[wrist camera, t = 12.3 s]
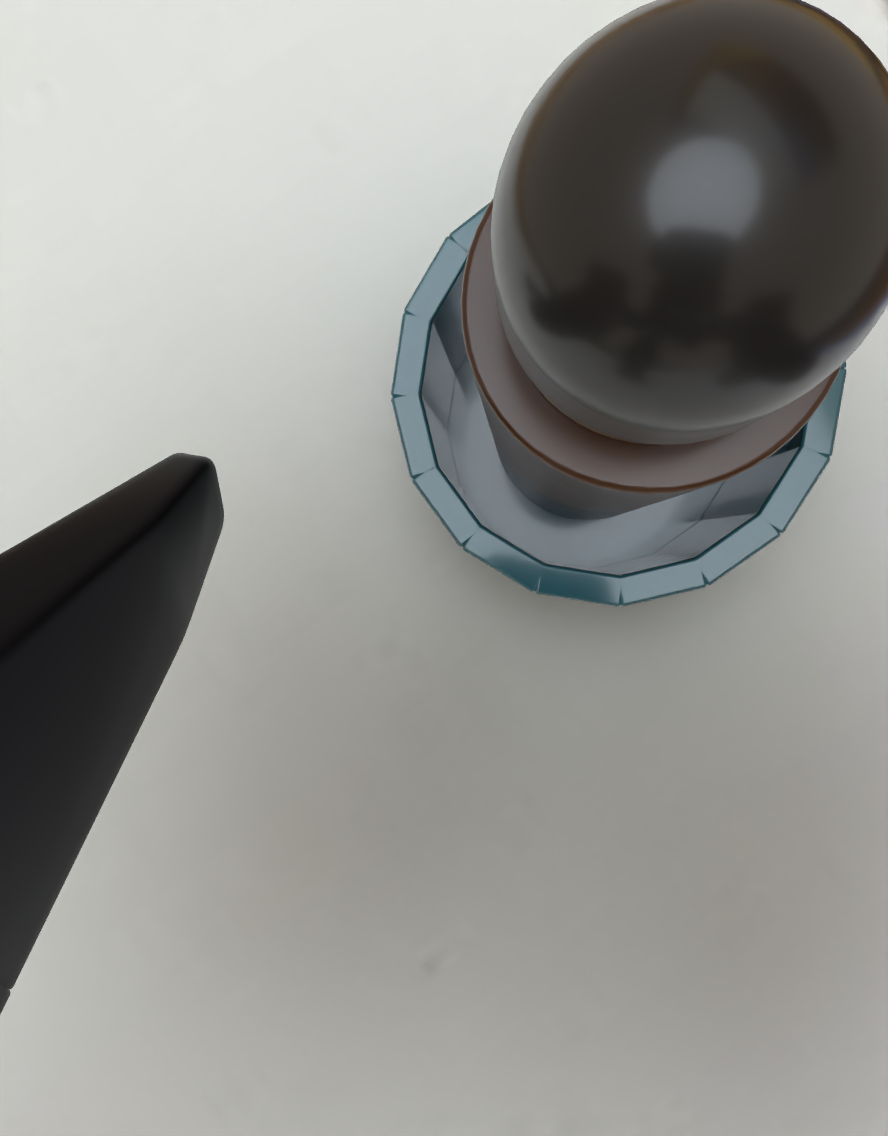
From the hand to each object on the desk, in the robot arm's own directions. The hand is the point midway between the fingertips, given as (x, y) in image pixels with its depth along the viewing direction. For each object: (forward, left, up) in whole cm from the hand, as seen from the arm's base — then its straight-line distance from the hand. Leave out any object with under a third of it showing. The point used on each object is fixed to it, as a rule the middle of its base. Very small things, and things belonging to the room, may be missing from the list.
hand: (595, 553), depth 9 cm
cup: (+2, -1, -9) cm, 9 cm away
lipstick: (+2, -1, -8) cm, 9 cm away
